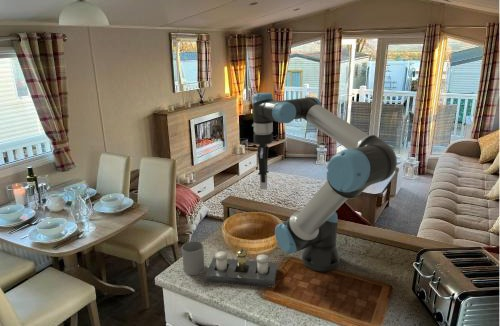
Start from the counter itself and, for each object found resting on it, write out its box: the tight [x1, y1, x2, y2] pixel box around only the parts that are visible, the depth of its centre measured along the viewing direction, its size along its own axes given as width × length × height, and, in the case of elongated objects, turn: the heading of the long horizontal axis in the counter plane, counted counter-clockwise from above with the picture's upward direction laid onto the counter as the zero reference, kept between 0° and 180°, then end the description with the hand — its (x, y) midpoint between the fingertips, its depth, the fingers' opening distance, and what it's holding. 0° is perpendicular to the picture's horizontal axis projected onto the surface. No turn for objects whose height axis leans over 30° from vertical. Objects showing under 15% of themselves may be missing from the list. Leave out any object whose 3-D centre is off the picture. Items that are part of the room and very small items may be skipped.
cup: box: [181, 240, 206, 276], centre depth 147 cm, size 8×8×10 cm
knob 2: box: [256, 254, 270, 275], centre depth 141 cm, size 5×5×8 cm
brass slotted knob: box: [235, 248, 248, 271], centre depth 141 cm, size 4×4×8 cm
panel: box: [204, 257, 278, 288], centre depth 143 cm, size 26×12×3 cm, turn 81°
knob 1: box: [214, 251, 228, 271], centre depth 143 cm, size 5×5×8 cm
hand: (263, 188), depth 153 cm, fingers closed
